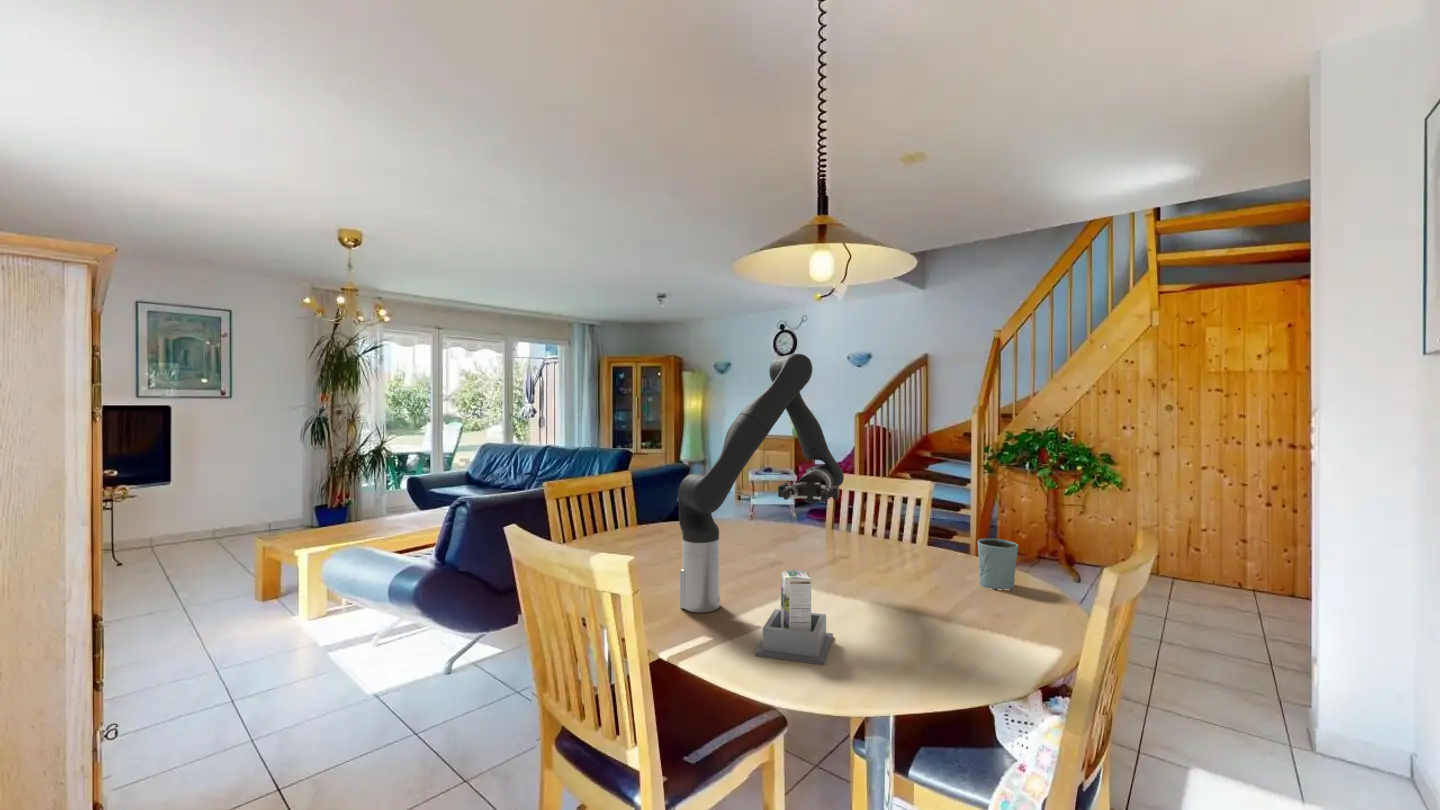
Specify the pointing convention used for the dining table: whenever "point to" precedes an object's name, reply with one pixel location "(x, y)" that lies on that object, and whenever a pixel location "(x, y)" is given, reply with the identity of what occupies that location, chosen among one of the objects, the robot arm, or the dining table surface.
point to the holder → (795, 640)
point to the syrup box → (796, 600)
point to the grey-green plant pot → (997, 563)
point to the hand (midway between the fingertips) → (803, 496)
